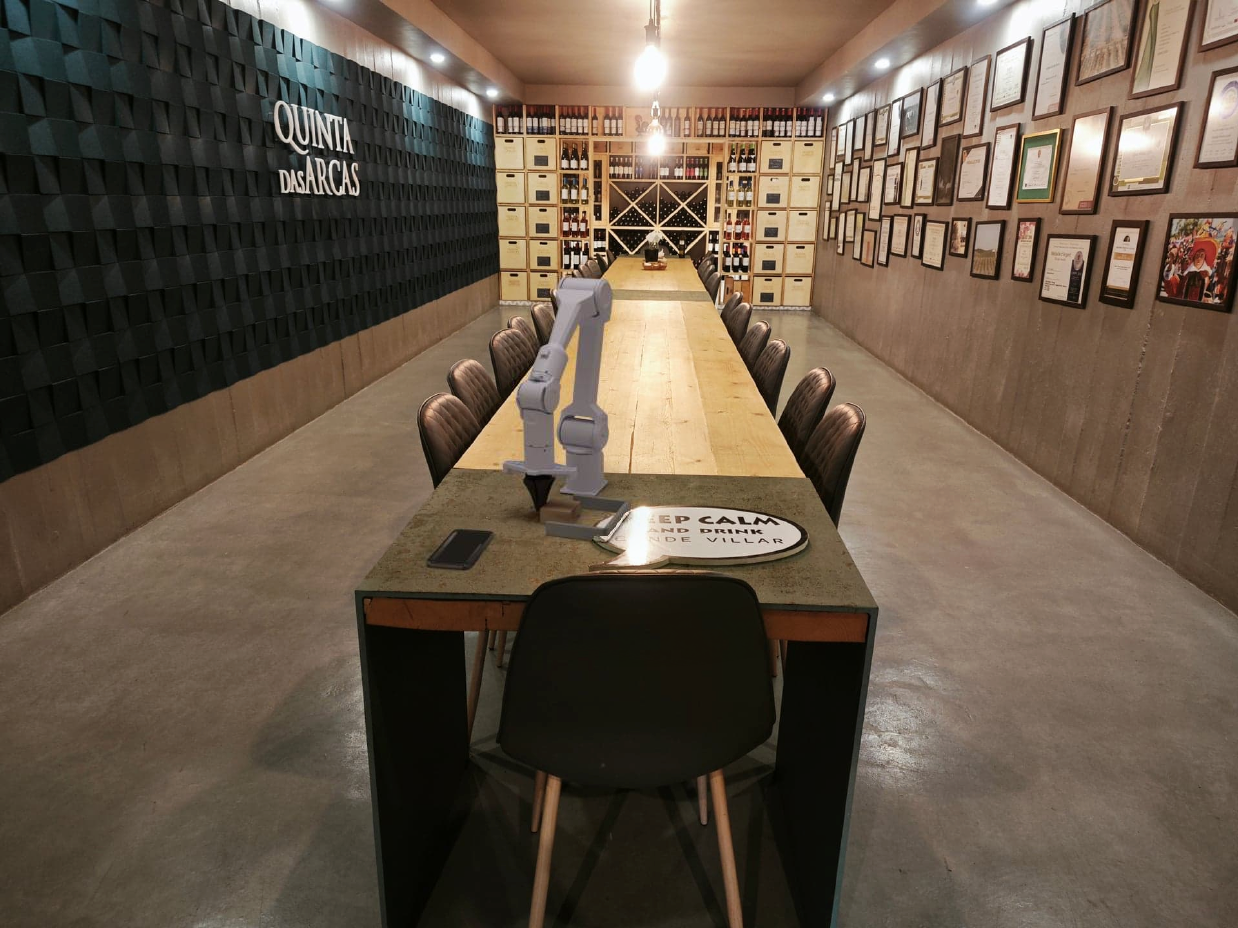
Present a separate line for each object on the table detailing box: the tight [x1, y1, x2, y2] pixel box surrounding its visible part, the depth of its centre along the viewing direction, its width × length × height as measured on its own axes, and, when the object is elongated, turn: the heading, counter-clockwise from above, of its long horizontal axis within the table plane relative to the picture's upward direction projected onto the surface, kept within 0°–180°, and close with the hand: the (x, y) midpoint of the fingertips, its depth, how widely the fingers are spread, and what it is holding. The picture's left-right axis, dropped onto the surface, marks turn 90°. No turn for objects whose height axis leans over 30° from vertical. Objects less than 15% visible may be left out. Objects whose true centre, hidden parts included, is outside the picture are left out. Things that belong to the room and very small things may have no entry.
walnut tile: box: [539, 498, 582, 525], centre depth 151 cm, size 6×6×3 cm
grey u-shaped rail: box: [545, 494, 632, 542], centre depth 149 cm, size 16×12×2 cm
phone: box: [426, 528, 495, 571], centre depth 138 cm, size 8×1×15 cm
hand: (540, 510), depth 152 cm, fingers closed
